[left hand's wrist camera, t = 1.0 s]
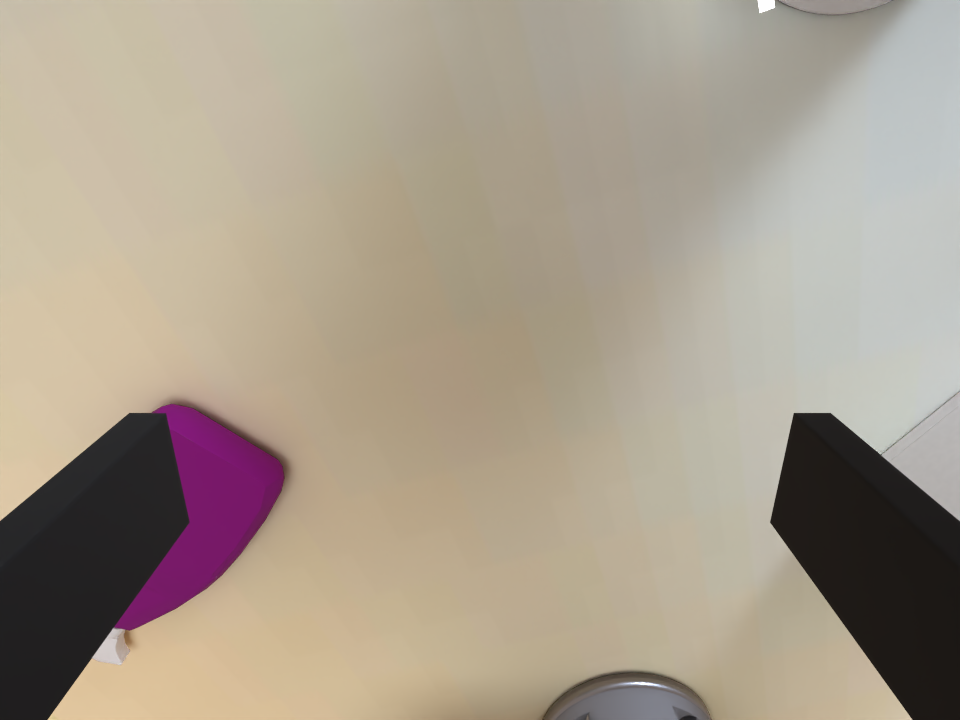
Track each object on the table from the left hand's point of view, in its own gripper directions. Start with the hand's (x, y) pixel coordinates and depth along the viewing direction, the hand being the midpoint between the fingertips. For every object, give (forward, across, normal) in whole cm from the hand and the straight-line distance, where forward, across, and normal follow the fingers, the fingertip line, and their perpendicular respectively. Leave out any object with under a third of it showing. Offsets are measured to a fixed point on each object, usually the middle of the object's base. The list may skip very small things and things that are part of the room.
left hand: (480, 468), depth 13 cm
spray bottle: (+26, +24, +23) cm, 42 cm away
